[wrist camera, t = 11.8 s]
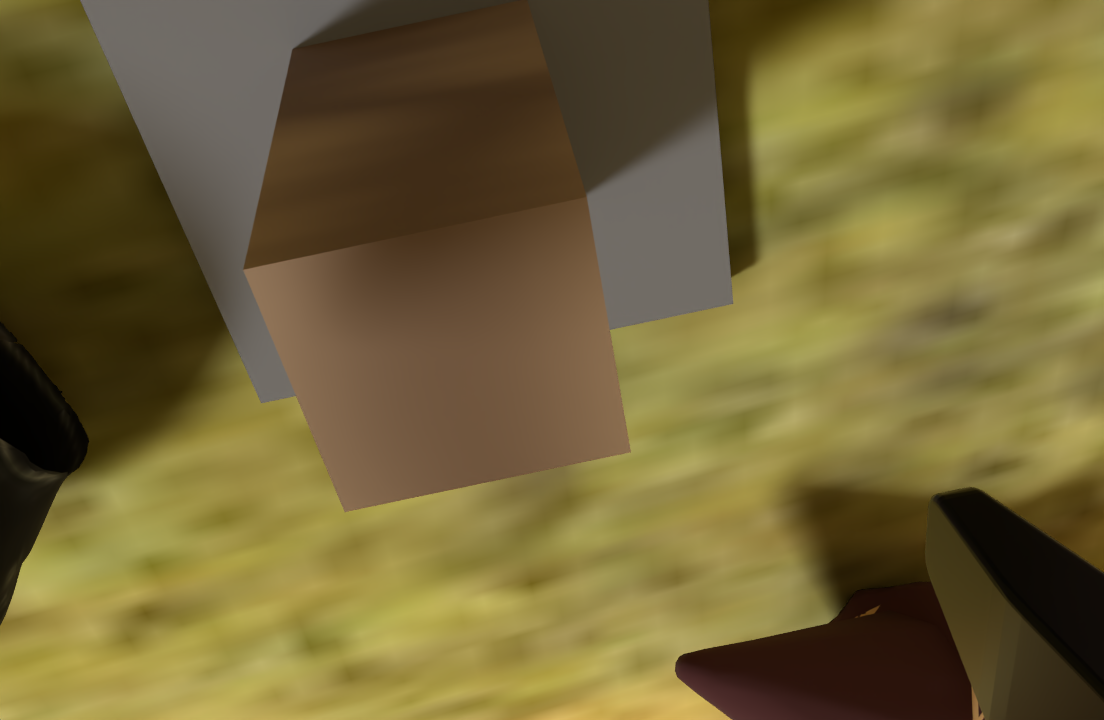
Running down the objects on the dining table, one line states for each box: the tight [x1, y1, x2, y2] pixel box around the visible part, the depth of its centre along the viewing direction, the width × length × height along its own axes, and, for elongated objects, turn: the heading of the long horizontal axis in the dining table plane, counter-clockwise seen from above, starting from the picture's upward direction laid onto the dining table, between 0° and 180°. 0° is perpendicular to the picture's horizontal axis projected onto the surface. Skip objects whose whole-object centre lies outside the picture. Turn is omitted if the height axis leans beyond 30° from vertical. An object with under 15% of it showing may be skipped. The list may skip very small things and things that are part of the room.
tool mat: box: [81, 0, 733, 403], centre depth 19 cm, size 10×10×1 cm
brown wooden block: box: [243, 0, 631, 512], centre depth 16 cm, size 4×4×7 cm
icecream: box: [675, 582, 985, 720], centre depth 27 cm, size 7×7×15 cm
